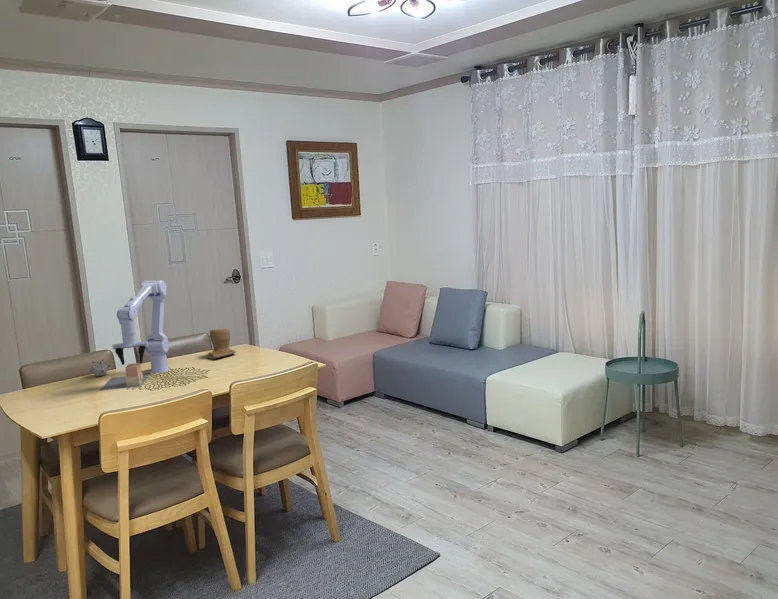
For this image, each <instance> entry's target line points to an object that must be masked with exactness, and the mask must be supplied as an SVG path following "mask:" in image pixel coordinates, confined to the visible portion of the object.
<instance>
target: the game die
mask: <svg viewBox="0 0 778 599" xmlns="http://www.w3.org/2000/svg"><path fill="white" fill-rule="evenodd" d="M91 363H92V364H91V365H92V366H91V368H90V370H89V371H88V372H90V373H92V374H93V375H94V376H95V378H98V377H101V376H107V373H108V369H109V367H110V366H111V365H108V364H107V363H106V362H105V361H104V359H102V360H98V361H91Z"/></svg>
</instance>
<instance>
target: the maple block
mask: <svg viewBox="0 0 778 599" xmlns="http://www.w3.org/2000/svg"><path fill="white" fill-rule="evenodd" d="M143 375H144V374H143V372H141V373H140V375H139V376H137V377H127V378H126V386H136V385H140V384H141V383H142V382H143Z"/></svg>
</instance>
